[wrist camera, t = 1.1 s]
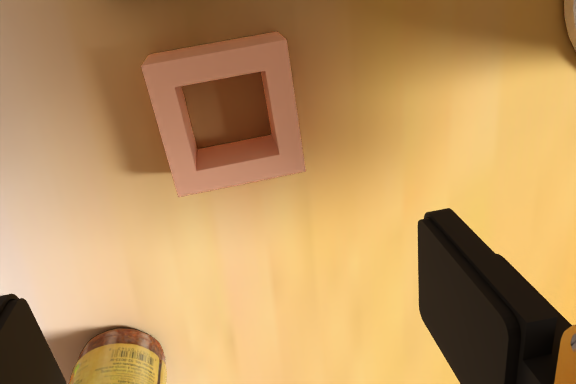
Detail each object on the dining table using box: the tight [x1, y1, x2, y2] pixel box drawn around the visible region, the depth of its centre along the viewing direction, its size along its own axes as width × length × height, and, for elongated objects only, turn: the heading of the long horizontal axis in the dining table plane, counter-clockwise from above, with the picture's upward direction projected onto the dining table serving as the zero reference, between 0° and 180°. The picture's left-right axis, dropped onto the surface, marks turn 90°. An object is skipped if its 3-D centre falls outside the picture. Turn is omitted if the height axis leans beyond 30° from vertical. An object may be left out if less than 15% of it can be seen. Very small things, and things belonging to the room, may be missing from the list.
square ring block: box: [141, 31, 306, 197], centre depth 26 cm, size 7×7×4 cm
